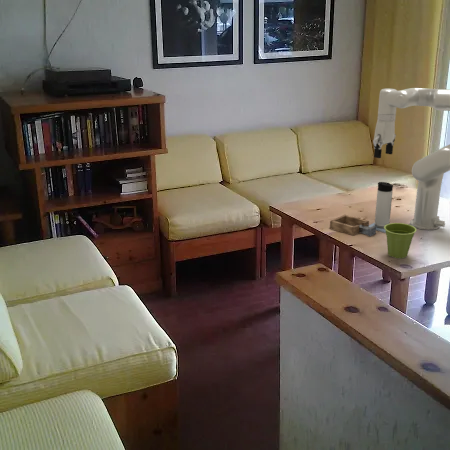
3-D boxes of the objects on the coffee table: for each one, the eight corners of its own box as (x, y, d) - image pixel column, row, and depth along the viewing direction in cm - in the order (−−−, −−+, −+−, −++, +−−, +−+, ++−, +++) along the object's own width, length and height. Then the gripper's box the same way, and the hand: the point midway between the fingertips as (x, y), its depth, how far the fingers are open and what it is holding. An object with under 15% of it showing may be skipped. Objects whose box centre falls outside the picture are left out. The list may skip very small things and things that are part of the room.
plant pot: (375, 252, 219) (377, 225, 215) (399, 247, 224) (402, 221, 220) (395, 263, 209) (398, 235, 205) (420, 258, 214) (423, 230, 210)
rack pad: (398, 227, 245) (398, 226, 245) (386, 233, 238) (387, 232, 238) (378, 221, 252) (378, 220, 251) (366, 227, 245) (366, 226, 245)
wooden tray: (368, 228, 244) (369, 221, 243) (354, 235, 236) (354, 227, 235) (344, 221, 252) (345, 214, 251) (329, 228, 245) (330, 220, 244)
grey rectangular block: (375, 233, 238) (376, 226, 237) (370, 236, 235) (370, 229, 234) (360, 229, 243) (361, 222, 242) (355, 232, 240) (355, 225, 239)
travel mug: (370, 224, 246) (374, 181, 239) (383, 223, 248) (387, 179, 241) (378, 229, 241) (382, 185, 234) (391, 227, 243) (396, 183, 236)
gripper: (389, 114, 252) (385, 151, 258) (368, 119, 241) (365, 157, 247) (404, 116, 247) (400, 153, 253) (383, 121, 236) (380, 160, 242)
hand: (383, 155), depth 250 cm, fingers open, 9 cm apart
